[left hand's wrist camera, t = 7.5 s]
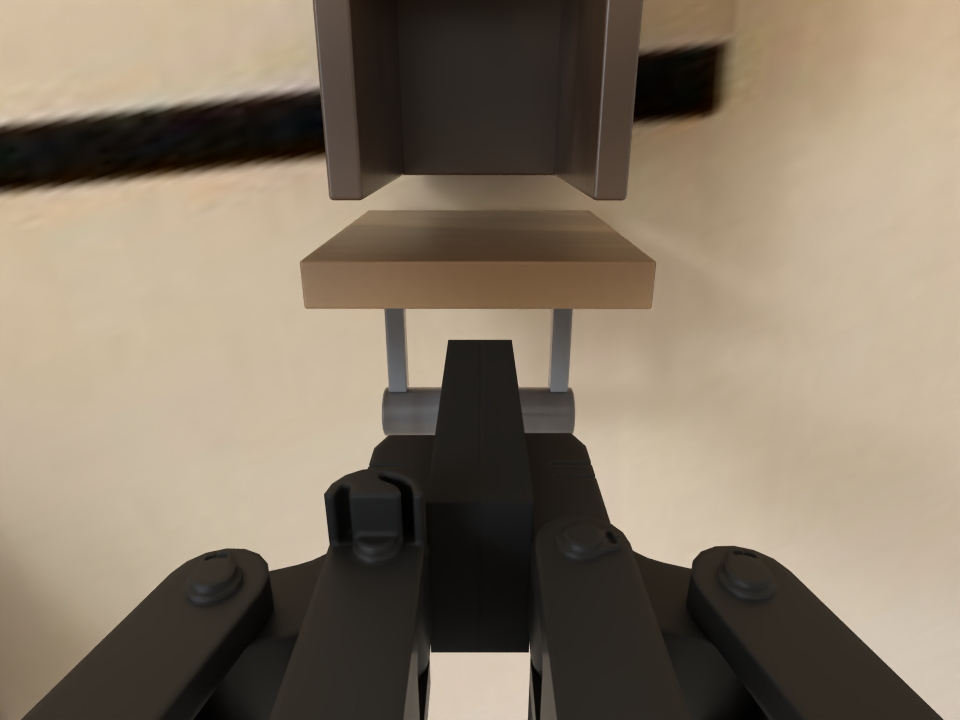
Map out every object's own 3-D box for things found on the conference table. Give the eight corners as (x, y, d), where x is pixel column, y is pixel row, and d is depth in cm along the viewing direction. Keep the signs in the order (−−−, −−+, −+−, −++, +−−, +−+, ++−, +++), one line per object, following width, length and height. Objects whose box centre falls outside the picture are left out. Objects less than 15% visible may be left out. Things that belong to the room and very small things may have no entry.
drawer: (579, 374, 26) (631, 503, 17) (378, 374, 26) (324, 503, 17) (633, -480, 17) (806, -1163, 8) (324, -480, 17) (148, -1163, 8)
